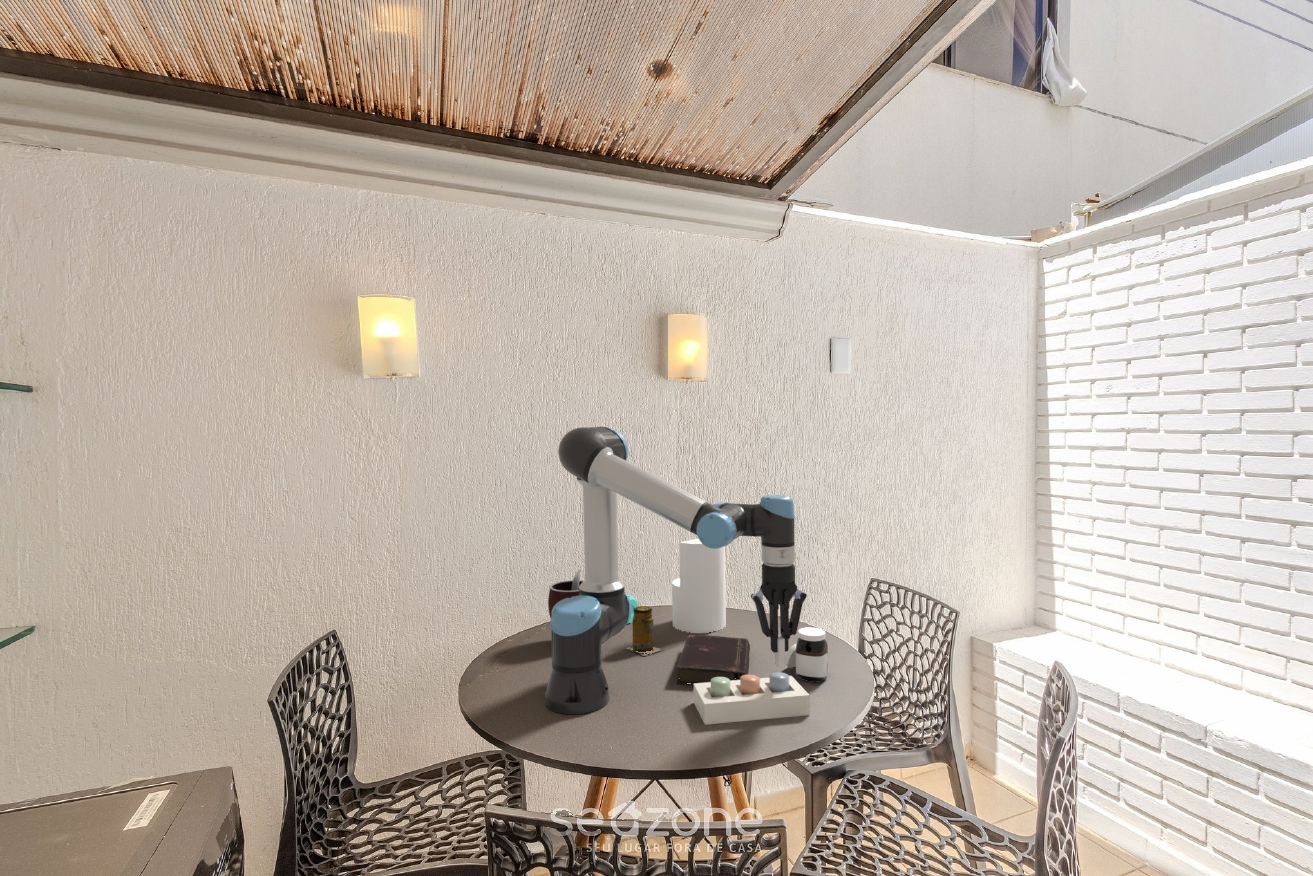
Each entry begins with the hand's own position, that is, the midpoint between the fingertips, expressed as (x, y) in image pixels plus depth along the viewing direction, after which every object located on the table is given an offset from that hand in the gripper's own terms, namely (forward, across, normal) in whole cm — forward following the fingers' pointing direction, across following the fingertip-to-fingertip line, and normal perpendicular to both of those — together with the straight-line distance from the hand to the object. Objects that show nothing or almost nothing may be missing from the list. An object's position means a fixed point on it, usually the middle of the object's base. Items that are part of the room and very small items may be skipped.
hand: (779, 665), depth 145 cm
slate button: (+6, 0, 0) cm, 6 cm away
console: (+9, -7, 0) cm, 12 cm away
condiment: (+10, -26, +42) cm, 50 cm away
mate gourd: (+9, -46, +54) cm, 71 cm away
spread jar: (+10, +13, +17) cm, 23 cm away
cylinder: (+10, -5, +62) cm, 62 cm away
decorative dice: (+9, -29, +70) cm, 77 cm away
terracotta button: (+6, -7, 0) cm, 9 cm away
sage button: (+6, -14, 0) cm, 15 cm away
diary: (+10, -9, +26) cm, 29 cm away
